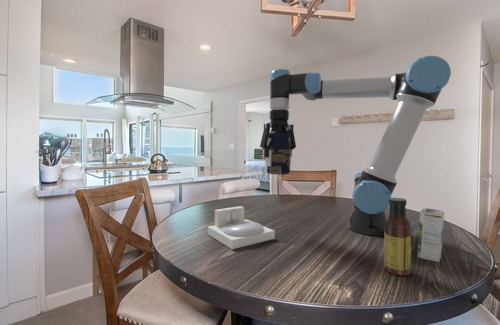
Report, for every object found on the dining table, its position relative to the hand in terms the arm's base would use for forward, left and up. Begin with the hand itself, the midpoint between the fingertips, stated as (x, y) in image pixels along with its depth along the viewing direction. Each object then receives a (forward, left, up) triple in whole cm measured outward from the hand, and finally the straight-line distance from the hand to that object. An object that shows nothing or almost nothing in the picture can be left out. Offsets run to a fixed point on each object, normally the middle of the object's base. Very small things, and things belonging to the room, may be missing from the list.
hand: (278, 165), depth 108 cm
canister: (0, 0, -4) cm, 4 cm away
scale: (0, +18, -26) cm, 32 cm away
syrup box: (-48, -20, -26) cm, 58 cm away
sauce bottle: (-47, -2, -26) cm, 54 cm away
